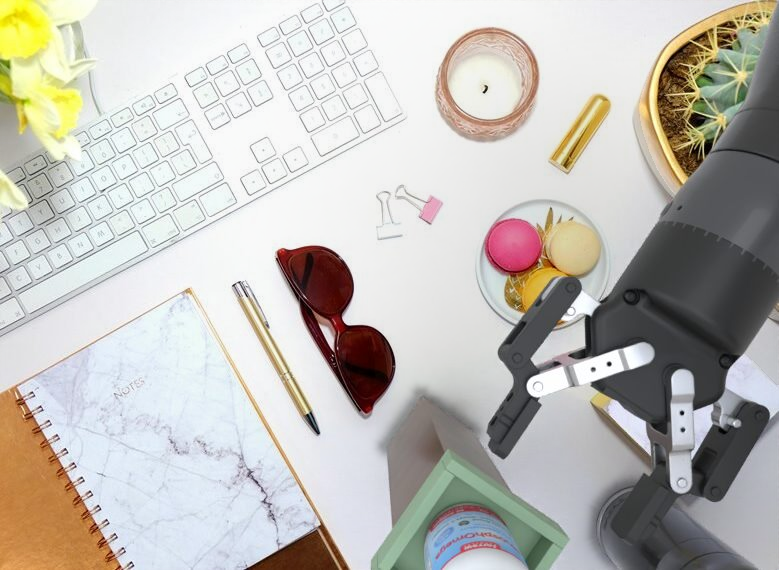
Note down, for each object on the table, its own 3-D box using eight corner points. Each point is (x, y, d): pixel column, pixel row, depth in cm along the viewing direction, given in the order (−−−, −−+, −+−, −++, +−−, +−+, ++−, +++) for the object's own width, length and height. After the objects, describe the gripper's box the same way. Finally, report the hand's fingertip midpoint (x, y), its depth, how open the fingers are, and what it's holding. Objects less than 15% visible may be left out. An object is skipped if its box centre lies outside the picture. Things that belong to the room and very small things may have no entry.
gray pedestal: (473, 431, 72) (535, 528, 44) (437, 482, 72) (477, 612, 44) (421, 395, 72) (452, 471, 44) (386, 447, 72) (393, 555, 44)
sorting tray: (558, 524, 45) (570, 539, 42) (482, 635, 44) (488, 658, 42) (447, 448, 44) (452, 458, 42) (370, 560, 44) (370, 578, 42)
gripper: (643, 171, 32) (461, 442, 32) (874, 330, 33) (695, 598, 33) (592, 191, 40) (445, 411, 40) (781, 320, 40) (635, 537, 40)
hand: (558, 495), depth 36 cm, fingers open, 8 cm apart
